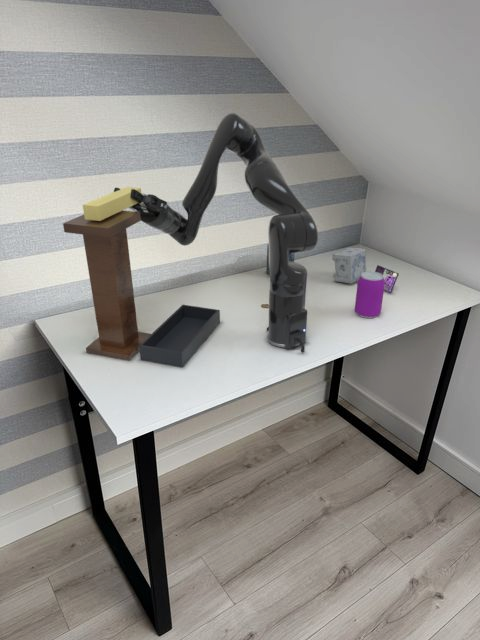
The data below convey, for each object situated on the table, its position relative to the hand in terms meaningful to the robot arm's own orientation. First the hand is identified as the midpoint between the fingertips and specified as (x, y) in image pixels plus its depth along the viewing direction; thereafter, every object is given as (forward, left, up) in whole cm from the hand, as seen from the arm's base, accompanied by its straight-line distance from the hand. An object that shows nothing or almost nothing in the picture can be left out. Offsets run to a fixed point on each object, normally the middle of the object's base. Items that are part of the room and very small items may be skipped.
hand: (124, 192), depth 122 cm
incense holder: (-9, -73, -37) cm, 82 cm away
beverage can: (-31, -58, -37) cm, 75 cm away
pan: (-13, -6, -36) cm, 39 cm away
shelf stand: (-6, +8, -36) cm, 38 cm away
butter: (-3, +4, -3) cm, 6 cm away
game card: (-21, -78, -37) cm, 89 cm away
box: (+9, -58, -37) cm, 69 cm away
